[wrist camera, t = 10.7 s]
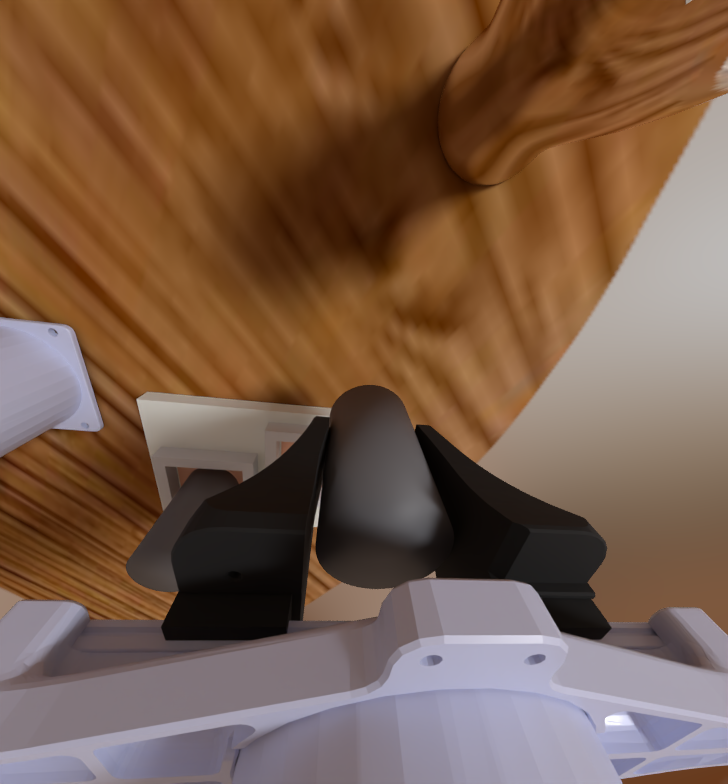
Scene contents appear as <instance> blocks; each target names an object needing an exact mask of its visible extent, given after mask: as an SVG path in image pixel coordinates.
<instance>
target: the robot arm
mask: <svg viewBox="0 0 728 784" xmlns="http://www.w3.org/2000/svg"><path fill="white" fill-rule="evenodd" d="M54 329H55V330H56V331H57V333H58V334H57V333H55V331H54ZM329 419H330V417H322V416H316V417H314V418H313V420H312V422H311V423H310V425H309V426H308V427H307V429H306V430H305V431H304V432H303V434H302V435H301V436H300V437H299V438H298V440H297V441H296V442H295V443H294V444H293V445H292V446H291V447H290V448H289V449H288V450H287V451H286V452H285V453H283V454H282V455H281V456H280V457H279V458H278V459H276V460H275V461H274V462H273V463H271V464H270V465H269V466H267V467H266V468H265V469H263V470H262V471H260V472H259V473H257V474H256V475H254V476H252V477H251V478H249V479H247V480H245V481H243V482H242V483H240V484H238V485H236V486H234V487H232V488H230V489H227V490H225V491H223V492H221V493H218V494H216V495H214V496H212V497H209V498H207V499H205V500H204V501H203V502H202V504H201V505H200V506H199V508H198V509H197V510H196V511H195V513H194V514H193V515H192V517H191V518H190V519H189V521H188V523H187V524H186V526H185V528H184V529H183V531H182V532H181V534H180V536H179V537H178V539H177V541H176V542H175V544H174V546H173V549H172V551H171V563H172V567H173V571H174V575H175V579H176V583H177V587H178V591H179V592H178V594H177V596H176V598H175V600H174V602H173V604H172V606H171V608H170V610H169V612H168V614H167V616H166V618H165V620H90V618H89V614H88V611H87V609H86V607H85V606H84V605H83V604H81V603H78V602H76V601H70V600H22V601H18V602H17V603H16V604H15V605H14V606H13V607H12V608H11V609H10V610H9V611H8V612H7V613H6V614H5V616H4V617H3V618H2V619H1V620H0V784H623V783H622V781H621V780H620V779H623V778H630V777H635V776H643V775H649V774H655V773H662V772H669V771H677V770H684V769H693V768H701V767H710V766H722V765H728V636H727V635H726V634H725V633H724V632H723V631H722V630H721V629H720V628H719V627H718V626H717V625H716V624H715V623H714V622H713V621H712V620H711V619H710V618H709V617H708V616H707V615H706V614H705V613H704V612H703V611H702V610H701V609H699V608H691V607H689V608H688V607H669V608H664V609H661V610H659V611H657V612H656V613H654V614H653V615H652V616H651V618H650V619H649V621H648V623H646V622H644V623H643V622H642V623H641V622H640V623H639V622H637V623H636V622H633V623H632V622H607V620H606V619H605V618H604V616H603V615H602V614H601V612H600V611H599V609H598V608H597V606H596V605H595V604H594V602H593V601H592V600H591V599H593V598H594V597H595V592H594V591H593V590H592V588H591V587H590V586H589V584H588V583H587V582H588V581H589V579H590V578H591V577H592V575H593V574H594V573H595V572H596V570H597V569H598V568H599V566H600V565H601V563H602V562H603V560H604V559H605V556H606V551H607V546H606V542H605V541H604V539H603V538H602V537H601V536H600V535H599V534H598V533H597V532H596V530H595V529H594V528H593V527H592V526H591V525H590V524H589V523H588V522H587V520H586V519H584V518H583V517H580V516H578V515H575V514H573V513H570V512H568V511H565V510H562V509H560V508H558V507H555V506H552V505H550V504H548V503H545V502H544V501H541V500H539V499H537V498H535V497H532V496H530V495H528V494H526V493H524V492H522V491H520V490H519V489H517V488H515V487H513V486H511V485H509V484H508V483H506V482H504V481H502V480H501V479H499V478H497V477H496V476H494V475H493V474H491V473H489V472H488V471H486V470H485V469H483V468H482V467H480V466H479V465H478V464H476V463H475V462H473V461H472V460H471V459H469V458H468V457H467V456H465V455H464V454H463V453H462V452H460V451H459V450H458V449H457V448H456V447H454V446H453V445H452V444H451V443H450V442H449V441H447V440H446V439H445V438H444V437H443V436H442V435H440V434H439V433H438V432H437V431H436V430H434V429H433V428H432V427H431V426H429V425H416V429H415V434H416V436H417V439H418V441H419V444H420V446H421V449H422V451H423V454H424V456H425V459H426V461H427V464H428V466H429V469H430V472H431V474H432V477H433V479H434V482H435V484H436V487H437V489H438V492H439V494H440V497H441V499H442V502H443V504H444V507H445V509H446V512H447V514H448V517H449V520H450V522H451V525H452V528H453V531H454V544H453V547H452V550H451V552H450V554H449V556H448V557H447V559H446V560H445V561H444V563H443V564H442V565H441V566H440V567H439V568H437V569H436V570H435V572H436V578H422V579H415V580H408V581H406V582H404V583H402V584H400V585H398V586H396V587H394V588H393V589H392V590H391V592H390V593H389V594H388V596H387V597H386V599H385V600H384V601H383V602H382V605H381V609H380V613H379V616H378V617H373V618H368V619H362V620H357V621H303V613H304V604H305V595H306V587H307V578H308V569H309V560H310V552H311V543H312V535H313V526H314V520H315V515H316V510H317V505H318V501H319V496H320V491H321V487H322V481H323V472H324V463H325V453H326V447H327V440H328V430H329ZM86 423H87V424H88V425H87V424H86ZM103 427H104V424H103V421H102V418H101V415H100V411H99V408H98V405H97V402H96V398H95V395H94V392H93V389H92V386H91V382H90V379H89V376H88V373H87V370H86V366H85V363H84V360H83V357H82V354H81V350H80V347H79V344H78V341H77V337H76V334H75V332H74V330H73V329H72V328H71V327H70V326H68V325H64V324H56V323H47V322H38V321H29V320H20V319H11V318H2V317H0V457H2V456H4V455H5V454H7V453H9V452H11V451H12V450H14V449H16V448H18V447H19V446H21V445H23V444H25V443H26V442H28V441H30V440H32V439H33V438H35V437H37V436H39V435H40V434H42V433H44V432H46V431H47V430H49V429H51V428H55V429H68V430H82V431H99V430H101V429H102V428H103Z"/></svg>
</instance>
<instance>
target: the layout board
mask: <svg viewBox="0 0 728 784" xmlns="http://www.w3.org/2000/svg"><path fill="white" fill-rule="evenodd" d="M136 400H137V404H138V408H139V412H140V417H141V421H142V425H143V429H144V433H145V437H146V441H147V445H148V450H149V454H150V458H151V462H152V466H153V470H154V474H155V479H156V483H157V487H158V491H159V495H160V499H161V503H162V508H163V511H164V510H165V509H166V507H167V506H168V504H169V503H170V502H171V500H172V499H173V497H174V496H175V495H176V493H177V492H178V491H179V489H180V488H181V486H182V485H183V484H184V482H185V481H186V480H187V478H188V477H189V475H190V474H191V473H192V472H193V471H194V470H196V469H198V468H201V469H217V470H227V471H228V472H230V473H231V474H232V475H233V476H234V477H235V478H236V479H237V481H238V483H239V484H240V483H242V482H243V481H245V480H247V479H249V478H251V477H252V476H254V475H256V474H257V473H259V472H260V471H262V470H263V469H265V468H266V467H267V466H269V465H270V464H271V463H273V462H274V461H275V460H276V459H278V458H279V457H280V456H281V455H282V454H283V453H285V452H286V451H287V450H288V449H289V448H290V447H291V446H292V445H293V444H294V443H295V442H296V441H297V440H298V438H299V437H300V436H301V435H302V434H303V432H304V431H305V430H306V429H307V427H308V426H309V425H310V423H311V422H312V420H313V418H314V417H316V416H322V417H330V412H331V409H332V408H323V407H312V406H300V405H289V404H278V403H267V402H256V401H245V400H234V399H223V398H211V397H200V396H189V395H178V394H167V393H156V392H146V393H145V394H143V395H142V396H140V397H139V398H137V399H136ZM321 490H322V487H321ZM320 500H321V491H320V496H319V501H318V505H317V510H316V515H315V520H314V526H313V527H318V518H319V509H320Z"/></svg>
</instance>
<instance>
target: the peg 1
mask: <svg viewBox="0 0 728 784" xmlns="http://www.w3.org/2000/svg"><path fill="white" fill-rule="evenodd" d="M238 484H239V483H238V481H237V479H236V478H235V477H234V476H233V475H232V474H231V473H230V472H228V471H227V470H217V469H201V468H198V469H196V470H194V471H193V472H192V473H191V474H190V475H189V477H188V478H187V480H186V481H185V482H184V484H183V485H182V486H181V488H180V489H179V491H178V492H177V493H176V495H175V496H174V497H173V499H172V500H171V502H170V503H169V504H168V506H167V507H166V509H165V510H164V511H163V513H162V514H161V515H160V517H159V518H158V520H157V521H156V522H155V524H154V525H153V527H152V528H151V529H150V531H149V532H148V533H147V535H146V536H145V538H144V539H143V540H142V542H141V543H140V545H139V546H138V547H137V549H136V550H135V551H134V553H133V554H132V556H131V557H130V558H129V560H128V561H127V564H126V570H127V573H128V574H129V576H130V577H131V578H132V579H133V580H134V581H135V582H137V583H138V584H140V585H142V586H144V587H146V588H149V589H152V590H156V591H163V592H176V591H178V587H177V583H176V579H175V575H174V571H173V567H172V563H171V551H172V549H173V546H174V544H175V542H176V541H177V539H178V537H179V536H180V534H181V532H182V531H183V529H184V528H185V526H186V524H187V523H188V521H189V519H190V518H191V517H192V515H193V514H194V513H195V511H196V510H197V509H198V508H199V506H200V505H201V504H202V502H203V501H204V500H205V499H207V498H209V497H212V496H214V495H216V494H218V493H221V492H223V491H225V490H227V489H230V488H232V487H234V486H236V485H238Z"/></svg>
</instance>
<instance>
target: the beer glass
mask: <svg viewBox="0 0 728 784" xmlns="http://www.w3.org/2000/svg"><path fill="white" fill-rule="evenodd" d="M727 93H728V0H500V2H499V5H498V7H497V10H496V12H495V15H494V17H493V19H492V21H491V23H490V24H489V25H488V26H487V27H486V28H485V29H484V30H483V31H482V32H481V33H480V34H479V35H478V36H477V38H476V39H475V40H474V41H473V42H472V43H471V44H470V45H469V46H468V47H467V48H466V49H465V51H464V52H463V53H462V55H461V56H460V57H459V59H458V60H457V62H456V63H455V65H454V67H453V68H452V70H451V72H450V74H449V76H448V78H447V81H446V83H445V86H444V89H443V92H442V96H441V100H440V105H439V112H438V134H439V140H440V145H441V149H442V152H443V154H444V157H445V159H446V161H447V163H448V164H449V166H450V167H451V168H452V170H453V171H454V172H455V173H456V174H457V175H458V176H459V177H461V178H462V179H463V180H465V181H467V182H469V183H472V184H476V185H483V186H487V185H495V184H498V183H501V182H504V181H506V180H508V179H510V178H512V177H513V176H515V175H516V174H518V173H519V172H520V171H522V170H523V169H524V168H525V167H526V166H527V165H528V164H529V163H530V162H532V161H533V160H534V159H535V158H536V157H537V156H538V155H539V154H540V153H542V152H543V151H545V150H547V149H549V148H552V147H556V146H560V145H564V144H568V143H573V142H578V141H582V140H587V139H591V138H595V137H599V136H603V135H608V134H612V133H616V132H620V131H623V130H627V129H630V128H633V127H637V126H640V125H643V124H646V123H650V122H653V121H656V120H659V119H663V118H666V117H669V116H672V115H675V114H678V113H680V112H682V111H685V110H687V109H690V108H692V107H695V106H697V105H700V104H702V103H705V102H707V101H710V100H712V99H715V98H717V97H719V96H722V95H724V94H727Z"/></svg>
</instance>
